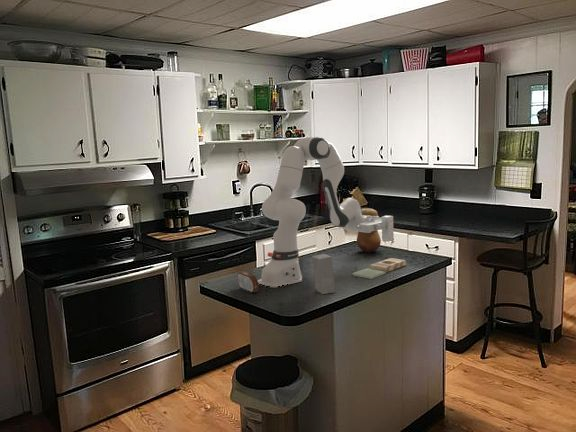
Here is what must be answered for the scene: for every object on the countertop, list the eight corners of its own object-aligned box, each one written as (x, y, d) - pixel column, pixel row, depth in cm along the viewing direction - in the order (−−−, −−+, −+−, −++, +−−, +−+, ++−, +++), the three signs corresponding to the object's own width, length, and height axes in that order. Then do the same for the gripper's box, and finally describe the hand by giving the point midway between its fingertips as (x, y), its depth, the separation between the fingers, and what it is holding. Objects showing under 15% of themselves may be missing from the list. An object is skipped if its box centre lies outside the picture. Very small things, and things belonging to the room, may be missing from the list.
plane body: (385, 272, 237) (385, 267, 236) (370, 269, 243) (370, 264, 243) (405, 265, 248) (405, 260, 248) (390, 262, 255) (390, 257, 254)
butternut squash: (385, 250, 282) (384, 207, 278) (373, 255, 272) (371, 210, 268) (364, 248, 291) (363, 206, 287) (352, 253, 281) (350, 209, 277)
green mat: (370, 278, 228) (370, 276, 228) (352, 275, 236) (352, 273, 236) (385, 273, 235) (385, 271, 235) (366, 270, 243) (366, 268, 243)
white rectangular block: (388, 241, 241) (388, 217, 239) (382, 240, 244) (381, 216, 242) (393, 240, 244) (393, 216, 242) (387, 239, 247) (386, 215, 245)
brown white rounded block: (259, 293, 215) (258, 275, 214) (253, 295, 214) (252, 276, 212) (243, 286, 228) (241, 269, 227) (237, 288, 226) (235, 270, 225)
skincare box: (335, 292, 210) (334, 256, 208) (320, 295, 208) (318, 258, 206) (328, 287, 218) (326, 252, 216) (313, 289, 217) (311, 254, 214)
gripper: (353, 221, 245) (375, 223, 235) (378, 215, 259) (400, 217, 248) (353, 233, 246) (376, 236, 236) (378, 227, 259) (401, 229, 249)
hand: (389, 226), depth 242 cm, fingers closed on white rectangular block, 4 cm apart
